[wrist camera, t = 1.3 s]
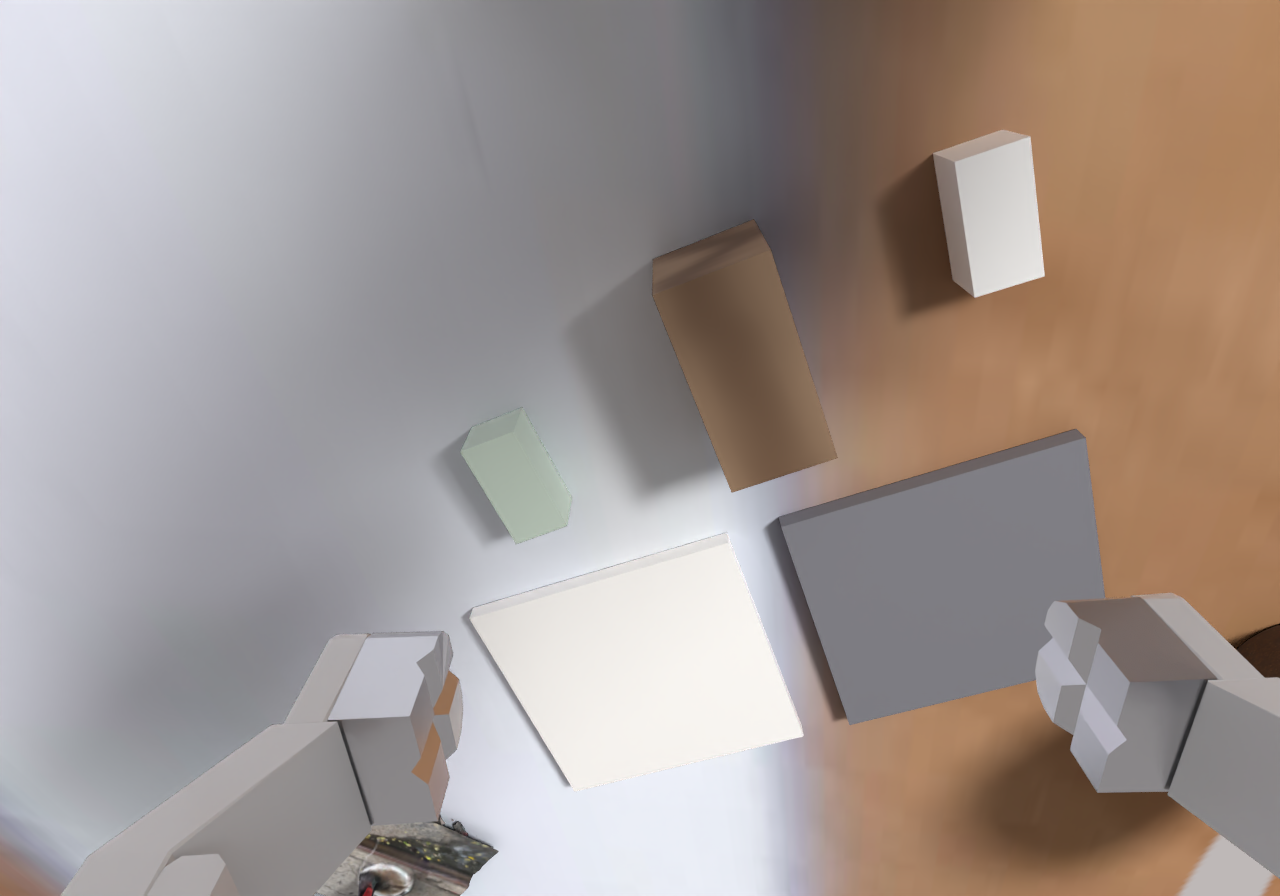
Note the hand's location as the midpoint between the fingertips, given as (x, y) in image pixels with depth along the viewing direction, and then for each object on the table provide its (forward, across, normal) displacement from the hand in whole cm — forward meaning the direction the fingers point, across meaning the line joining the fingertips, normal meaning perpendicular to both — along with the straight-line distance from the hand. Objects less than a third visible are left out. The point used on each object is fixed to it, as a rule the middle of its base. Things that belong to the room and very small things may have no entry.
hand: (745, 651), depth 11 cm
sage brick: (+29, +8, +12) cm, 32 cm away
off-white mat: (+29, +3, +27) cm, 39 cm away
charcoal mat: (+28, -15, +21) cm, 39 cm away
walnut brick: (+28, -3, +5) cm, 29 cm away
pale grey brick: (+28, -14, 0) cm, 31 cm away
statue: (+30, +21, +44) cm, 57 cm away
